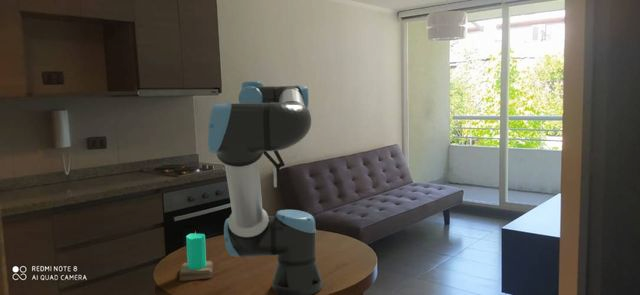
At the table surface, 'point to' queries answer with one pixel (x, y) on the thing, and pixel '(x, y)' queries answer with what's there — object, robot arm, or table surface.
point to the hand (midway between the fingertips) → (255, 187)
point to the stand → (196, 272)
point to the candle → (196, 251)
